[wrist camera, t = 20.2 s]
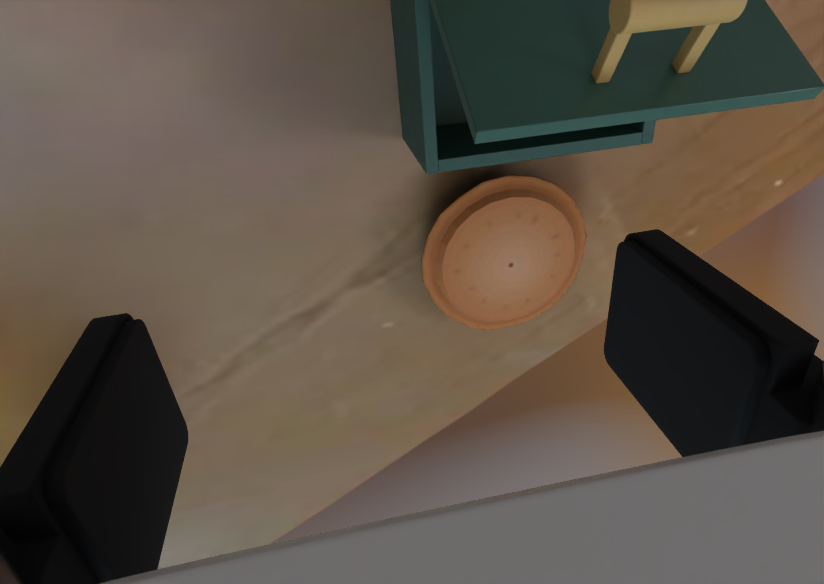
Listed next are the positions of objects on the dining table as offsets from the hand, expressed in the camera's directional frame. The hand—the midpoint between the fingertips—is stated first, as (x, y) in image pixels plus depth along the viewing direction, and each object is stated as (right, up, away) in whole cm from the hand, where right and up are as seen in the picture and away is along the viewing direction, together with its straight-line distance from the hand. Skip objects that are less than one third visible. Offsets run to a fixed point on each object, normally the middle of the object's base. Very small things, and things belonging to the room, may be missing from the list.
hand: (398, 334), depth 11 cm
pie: (+8, +6, +41) cm, 42 cm away
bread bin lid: (+10, +15, +17) cm, 25 cm away
